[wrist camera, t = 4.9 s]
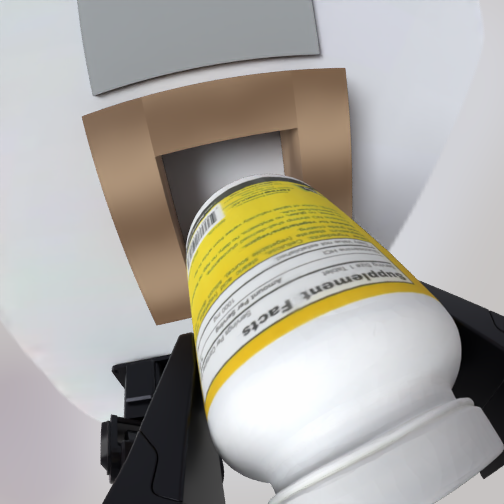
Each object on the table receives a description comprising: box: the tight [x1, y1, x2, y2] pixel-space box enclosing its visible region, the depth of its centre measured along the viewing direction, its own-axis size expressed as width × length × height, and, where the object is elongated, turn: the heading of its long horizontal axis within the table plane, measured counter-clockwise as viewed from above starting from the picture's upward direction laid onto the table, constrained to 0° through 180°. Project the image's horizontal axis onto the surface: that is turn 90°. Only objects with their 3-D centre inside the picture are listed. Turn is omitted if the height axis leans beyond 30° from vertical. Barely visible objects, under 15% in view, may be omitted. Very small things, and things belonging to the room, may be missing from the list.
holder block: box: [82, 68, 352, 325], centre depth 19 cm, size 14×14×4 cm
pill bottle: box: [186, 174, 504, 504], centre depth 8 cm, size 6×6×11 cm
